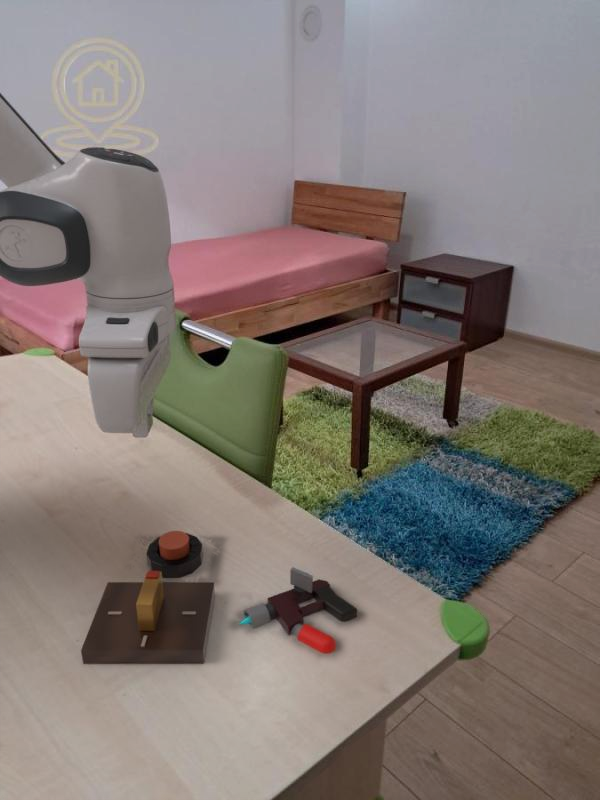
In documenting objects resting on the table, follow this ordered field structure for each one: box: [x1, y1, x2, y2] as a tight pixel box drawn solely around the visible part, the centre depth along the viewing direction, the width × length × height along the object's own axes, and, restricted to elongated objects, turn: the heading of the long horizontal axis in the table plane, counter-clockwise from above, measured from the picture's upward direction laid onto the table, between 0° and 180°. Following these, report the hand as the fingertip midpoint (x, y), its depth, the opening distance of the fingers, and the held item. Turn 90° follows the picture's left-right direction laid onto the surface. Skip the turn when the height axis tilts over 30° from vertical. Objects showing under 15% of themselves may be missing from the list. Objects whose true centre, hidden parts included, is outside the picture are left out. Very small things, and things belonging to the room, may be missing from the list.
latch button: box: [159, 530, 190, 560], centre depth 77 cm, size 4×4×2 cm
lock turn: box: [136, 570, 164, 631], centre depth 66 cm, size 5×2×4 cm, turn 0°
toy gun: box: [238, 566, 358, 655], centre depth 67 cm, size 10×12×5 cm
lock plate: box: [80, 581, 216, 665], centre depth 67 cm, size 12×10×3 cm
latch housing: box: [146, 532, 204, 579], centre depth 77 cm, size 10×8×3 cm
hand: (143, 431), depth 72 cm, fingers closed
